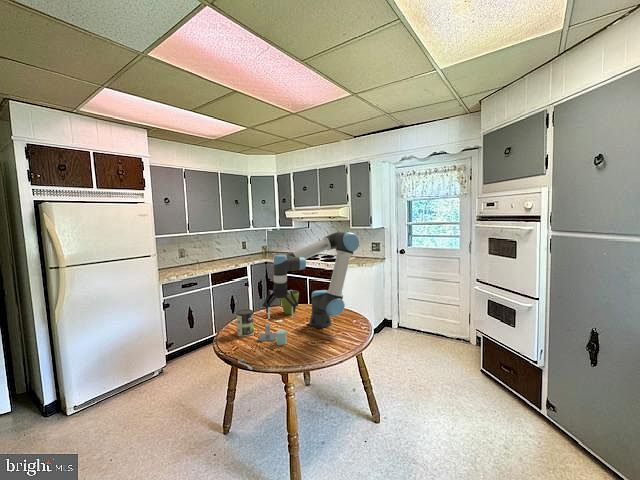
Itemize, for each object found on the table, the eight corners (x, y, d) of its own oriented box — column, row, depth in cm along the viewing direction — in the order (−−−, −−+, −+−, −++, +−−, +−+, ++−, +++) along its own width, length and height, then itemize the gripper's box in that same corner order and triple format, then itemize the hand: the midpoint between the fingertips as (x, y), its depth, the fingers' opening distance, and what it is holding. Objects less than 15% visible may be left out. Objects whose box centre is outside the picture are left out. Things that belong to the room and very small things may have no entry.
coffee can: (256, 330, 193) (255, 309, 192) (249, 337, 183) (248, 314, 182) (241, 329, 195) (241, 308, 194) (234, 336, 185) (233, 313, 184)
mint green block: (286, 340, 177) (286, 330, 176) (285, 344, 172) (285, 333, 171) (277, 341, 177) (277, 330, 176) (276, 344, 172) (276, 333, 171)
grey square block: (277, 334, 187) (276, 322, 186) (275, 340, 177) (275, 328, 176) (260, 334, 187) (260, 322, 186) (258, 341, 177) (258, 328, 176)
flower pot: (275, 313, 227) (275, 292, 226) (289, 308, 239) (289, 289, 237) (289, 317, 218) (288, 296, 216) (303, 312, 229) (303, 292, 228)
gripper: (302, 280, 176) (302, 315, 177) (259, 280, 175) (260, 316, 176) (302, 283, 168) (302, 319, 170) (257, 283, 167) (258, 320, 169)
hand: (280, 318), depth 173 cm, fingers open, 13 cm apart
